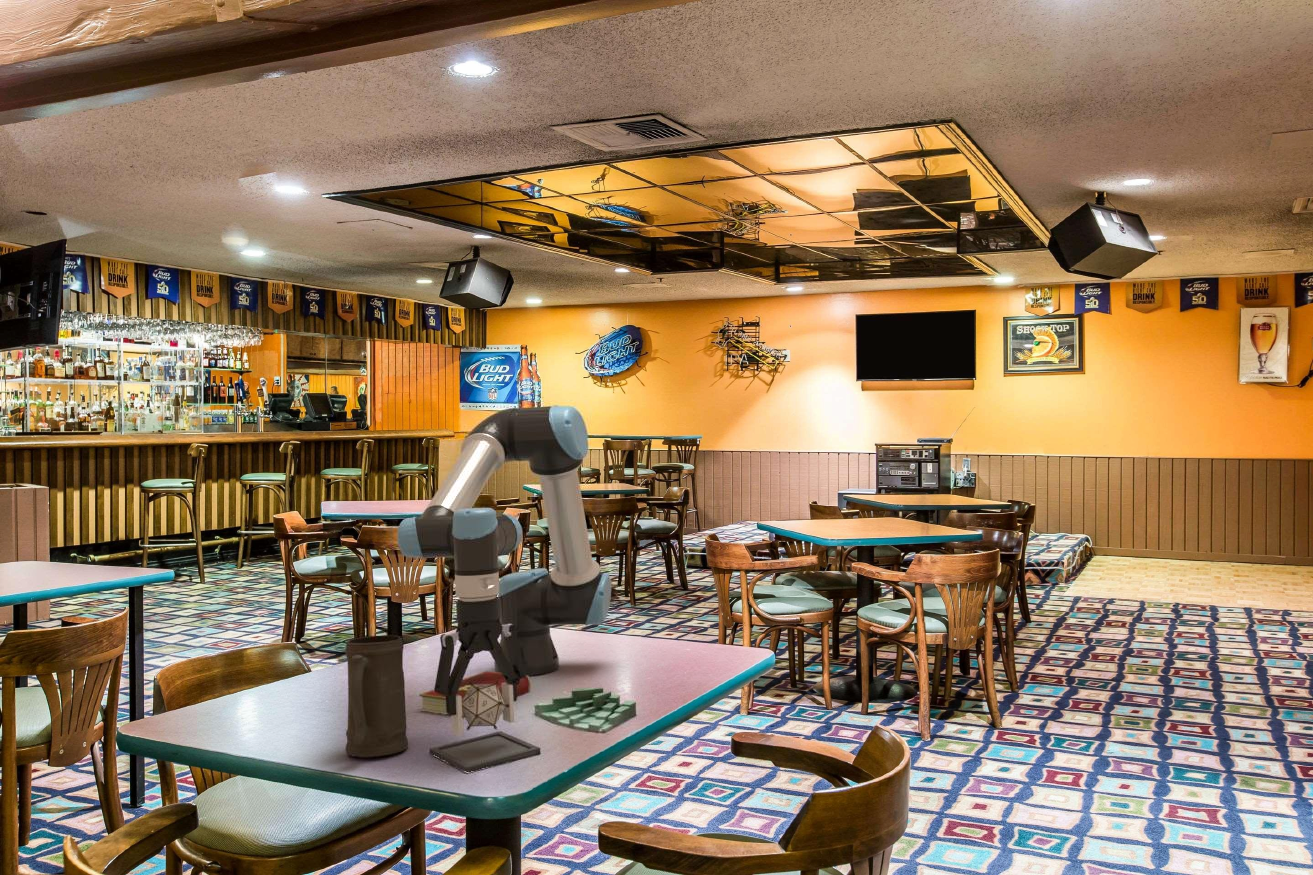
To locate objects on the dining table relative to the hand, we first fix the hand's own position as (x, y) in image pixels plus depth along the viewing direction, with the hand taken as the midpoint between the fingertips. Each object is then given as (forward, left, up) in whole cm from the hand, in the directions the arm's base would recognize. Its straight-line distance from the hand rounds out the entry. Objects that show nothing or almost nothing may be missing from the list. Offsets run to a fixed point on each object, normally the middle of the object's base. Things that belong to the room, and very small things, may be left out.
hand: (483, 726), depth 173 cm
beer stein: (-14, -14, -5) cm, 20 cm away
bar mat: (0, 0, -5) cm, 5 cm away
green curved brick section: (-7, +25, -5) cm, 27 cm away
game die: (0, 0, 0) cm, 0 cm away
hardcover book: (-33, +16, -5) cm, 37 cm away
